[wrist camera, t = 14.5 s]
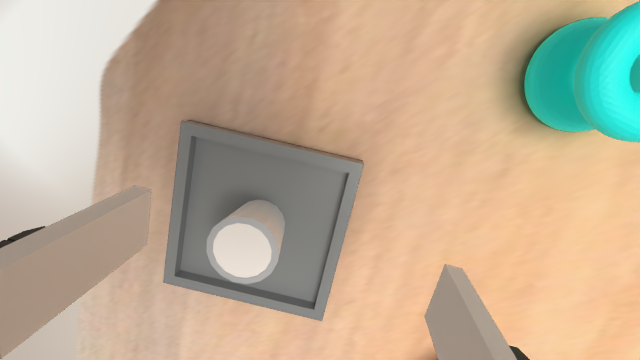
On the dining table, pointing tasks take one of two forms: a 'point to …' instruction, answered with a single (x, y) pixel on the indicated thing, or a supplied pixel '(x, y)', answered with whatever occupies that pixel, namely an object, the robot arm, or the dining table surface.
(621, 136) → the donuts
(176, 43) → the dining table surface
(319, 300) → the tray
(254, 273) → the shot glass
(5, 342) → the robot arm
